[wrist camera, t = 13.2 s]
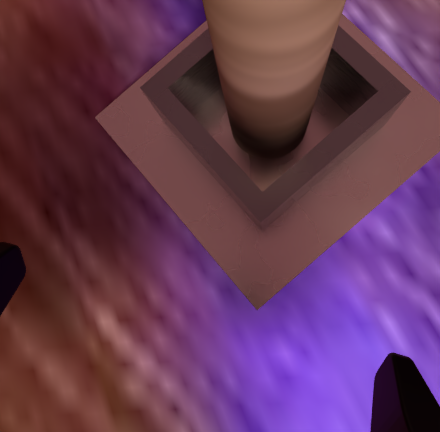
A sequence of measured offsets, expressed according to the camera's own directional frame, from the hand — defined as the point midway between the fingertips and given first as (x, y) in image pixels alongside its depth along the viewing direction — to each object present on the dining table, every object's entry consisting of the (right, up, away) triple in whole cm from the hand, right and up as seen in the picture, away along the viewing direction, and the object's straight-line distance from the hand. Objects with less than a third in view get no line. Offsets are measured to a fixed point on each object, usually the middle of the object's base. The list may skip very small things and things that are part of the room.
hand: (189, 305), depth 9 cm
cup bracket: (+3, +6, +9) cm, 12 cm away
